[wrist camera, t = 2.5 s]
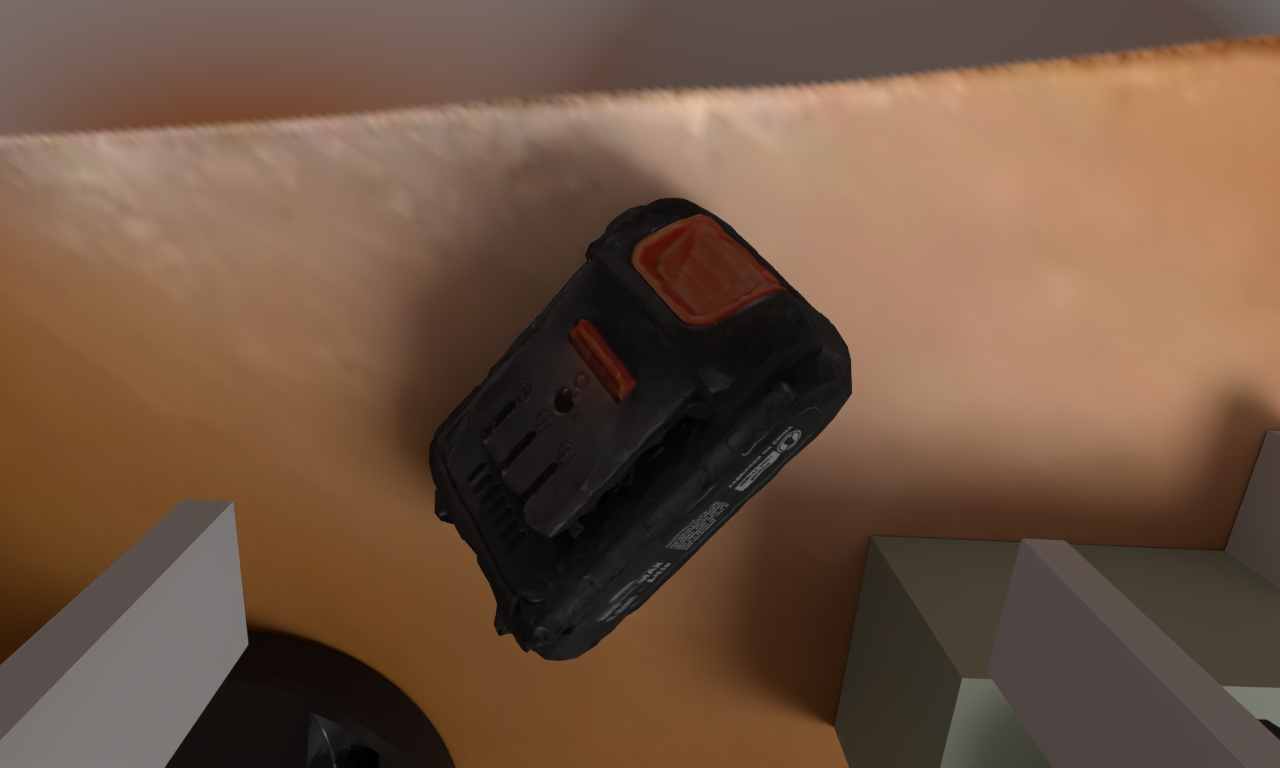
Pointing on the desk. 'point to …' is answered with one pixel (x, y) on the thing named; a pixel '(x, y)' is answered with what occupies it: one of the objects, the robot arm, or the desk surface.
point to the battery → (632, 423)
